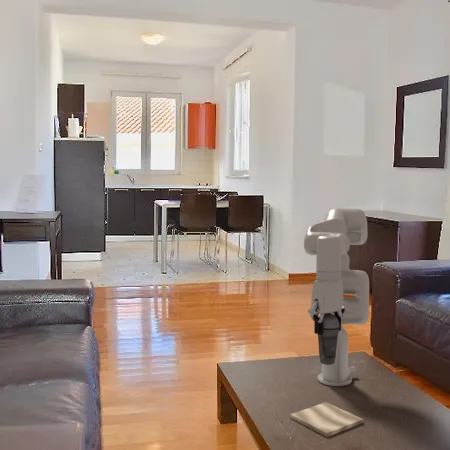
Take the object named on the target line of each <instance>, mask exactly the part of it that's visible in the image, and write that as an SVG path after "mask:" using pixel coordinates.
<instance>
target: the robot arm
mask: <svg viewBox="0 0 450 450" xmlns="http://www.w3.org/2000/svg"><path fill="white" fill-rule="evenodd" d="M367 220H368V219H367V215H366V214H365V212H364V210H362V209H361V208H341V207H340V208H333V209H330V210H329V211H328V212H327V213H326V214H325V218H324V221H320V222H317V223H314V224H312V225H310V226H309V227H308V229H307V230H306V232H305V236H304V240H303V247H304V250H305V253H306V254H307V255H310V256H316V258H315V259H316V266H315V267H316V268H315V273H316V275H315V277H316V278H315V279H316V280H314V281H313V285H312V291H311V292H312V293H311V300H310V301H311V303H310V307H309V309H308V310H307V313H308V315H309V316H310V318H311V319H312V321H313V322H314V328H313V329H314V334H316V335H317V336H318V335H323V322H322V319H323V317H324V314H327V313H330V314H333V315H334V316H336V318H337V319H338V321H339V326H340V328H339V333H338V339H337V348H336V357H335V363H334V364H332V365H325V364H322V363H321V373H320V372H319V374H317V380H318V382H319V383H320V384H323V385H326V386H330V387H344V386H348V385H350V384H351V383H352V380H353V379H352V376H351V375H350V374H351V373H353V372H356V371H357V369H356V366H354V365H353V366H352V365H351V366H350V367H349V364H348V363H349V335H348V331H347V330H346V328H345V327H344V326H343V325H356V326H358V325H359V326H361V325H362V326H363V325H365V324H367V322H368V321H369V314H370V278H369V275H368V273H367V272H366V271H364V270H361V269H350V256H349V254H348V252H349V251H350V247H351V246H361V245H364V244H366V242H367V240H368V221H367ZM344 295H345V296H354V298H353V297H344Z"/></svg>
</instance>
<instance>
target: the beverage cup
mask: <svg viewBox="0 0 450 450" xmlns="http://www.w3.org/2000/svg"><path fill="white" fill-rule="evenodd" d="M322 322H323V335H318V334H317V342H318V354H319V362H320V364H321V365H322V364H325V365H332V364H334V363H335V357H336V348H337V339H338V333H339V328H340V326H339V321H338V319H337V318H336V316H334V315H333V314H330V313H327V314H324V317H323V319H322Z"/></svg>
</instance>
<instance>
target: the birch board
mask: <svg viewBox="0 0 450 450" xmlns="http://www.w3.org/2000/svg"><path fill="white" fill-rule="evenodd" d="M289 417H290V418H289V419H291V420H293V421H295V422H297V423H299V424H301V425H303V426H305V427H307V428H309V429H311V430H312V431H314V432H316V433H318V434H321V435H322V436H324V437H326V438H328V437H331V436H333V435H335V434H338V433H341V432H343V431H347V430H348V429H351V428H353V427H356V426H359V425H361V424H364V419H363V418H361V417H359V416H357V415H356V414H355V415H354V414H353V413H351V412H349V411H346V410H344V409H341V408H340V407H338V406H335V405H333V404H331V403H329V402H326V401H324V402H322V403H320V404H316V405H313V406H310V407H307V408H305V409H301V410H299V411H295V412H292V413H290V415H289Z"/></svg>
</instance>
